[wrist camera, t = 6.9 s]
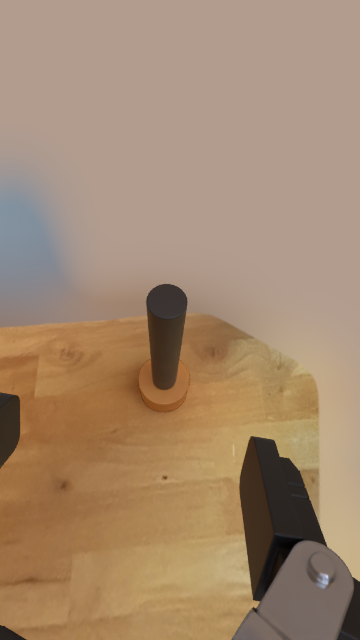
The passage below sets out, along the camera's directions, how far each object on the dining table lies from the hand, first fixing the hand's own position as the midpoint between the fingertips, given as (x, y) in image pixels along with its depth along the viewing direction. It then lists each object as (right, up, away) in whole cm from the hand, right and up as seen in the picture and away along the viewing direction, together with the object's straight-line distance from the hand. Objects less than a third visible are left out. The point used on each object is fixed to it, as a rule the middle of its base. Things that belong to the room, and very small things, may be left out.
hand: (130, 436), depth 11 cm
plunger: (0, -3, +22) cm, 23 cm away
